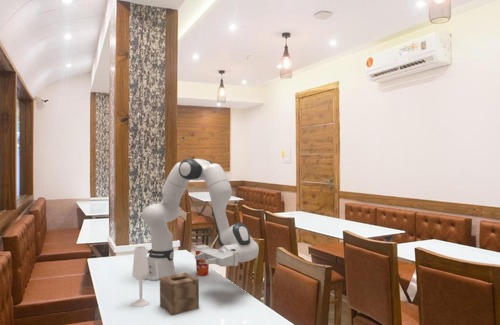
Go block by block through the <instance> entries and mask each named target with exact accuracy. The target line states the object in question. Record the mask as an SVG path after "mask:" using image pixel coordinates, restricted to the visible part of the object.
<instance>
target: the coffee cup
mask: <svg viewBox="0 0 500 325" xmlns="http://www.w3.org/2000/svg"><path fill="white" fill-rule="evenodd" d="M204 249H211V248H210V246H209V245H205V244H202V245H196V246H195V248H194V251H195V255H199V254H200V251H201V250H204ZM195 263H196V264H195V265H196V275H197V276H199V277H206V276H208V275H209V265H210V264H206V263H205V260H204V259H202V258H201V259H199V260H196V259H195Z"/></svg>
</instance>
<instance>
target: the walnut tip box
mask: <svg viewBox="0 0 500 325" xmlns="http://www.w3.org/2000/svg"><path fill="white" fill-rule="evenodd" d="M199 280H200V279H199V278H197V277H195V276H193V275H192V274H190V273H188V272H182V273H176V274H175V275H170V276H165V277H160V279H159V306H160V307H161V308H162V309H163V310H165V312H167V313H169V314H170V315H171V316H174V315H178V314H181V313H185V312H189V311H193V310H197V309H199V308H200V298H199V296H200V295H199V294H200V293H199V292H200V290H199V288H200V284H199Z"/></svg>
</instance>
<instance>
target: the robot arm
mask: <svg viewBox="0 0 500 325" xmlns="http://www.w3.org/2000/svg"><path fill="white" fill-rule="evenodd" d="M190 181H204V182H205V185H206V188H207V191H208V194H209V197H210V202H211V209H212V210H211V211H212V215H213V218H214V222H215V225H216V230H217V240H218V244H219V246H220V248H219V249H216V248H210V249H204V250H201V251H200V254H199V255H196V254H195V255H194V260H195V261H196V260H199V259H201V258H202V259H204V260H205V263H206V264H209V265H217V266H219V267H223V268H225V267H232V266H233V267H237V266H239V263H245V262H248V261H249V262H250V261H252V260H254V259H256V258H257V257H258V255H259V251H260V248H259V245H258V242H256V241H255V240H254V239H253V238H252V236H251V235H250V230H249V228H248V226H247V225H246V224H244V223H242V222H235V223H234V224H233V225H231V226H230V224H229V220H228V217H227V213H226V210H227V207H228V206H227V205H228V204H229V201H230V199H231V198H232V195H233V194H232V192H233V190H232V185H231V183H230V181H229V178H228V176H227V174H226V172H225V170H224V168H223V167H222V166H221V165H220V163H213V162H212V161H210V160H208V159H202V158H185V159H183V160H182V161H180V162H177V163H175V164H174V166H173V167H172V169H171V170H170V172H169V174H168V175H167V177H166V180H165V182H164V183H163V186H162V188H161V195H162V199H161V201H160V202H159V203H153V204H150V205H148V206H146V207H145V208H144V209H143V210H142V211H141V218H142V220H143V222H144V224H145V225H147V227H148V229H149V231H150V236H151V237H150V238H151V249H149V250H146V251H147V254H148V255H147V260H148V270H149V273H148V275H147V277H146V278H145V279H144V280H148V281H158V280H160V277H165V276H170V275H175V274H177V273H176V269H175V264H174V257H175V255H174V252H175V251H174V247H173V246H174V245H173V244H174V243H173V242H174V240H173V238H174V236H173V233H172V232H171V231H170V229H169V228H168V227H169V226H168V223H169V222H173V221H175V220H177V219H178V218H179V216H180V215H181V206H180V203H181V199H182V196H183V194H184V192H185V190H186V188H187V186H188V184H189V183H190Z"/></svg>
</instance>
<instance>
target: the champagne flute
mask: <svg viewBox="0 0 500 325" xmlns="http://www.w3.org/2000/svg"><path fill="white" fill-rule="evenodd" d="M133 250H134V252H133V253H134V254H133V265H132V276H133V278H134V279H135V280H137V281H138V282H139V287H138V288H139V290H138V291H139V293H138V294H139V295H138V296H139V298H138V299H137V300H135V302H133V303H132V305H133V306H134V307H143V306H147V305H149V303H150V301H148V300H146V299H144V298H143V281H144V280H146V279H145V278H146V277H147V275H148V273H149V270H148V260H147V257H148V252H147V251H148V250H147V247H146V246H143V245H141V246H136V247H134V249H133Z"/></svg>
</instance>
